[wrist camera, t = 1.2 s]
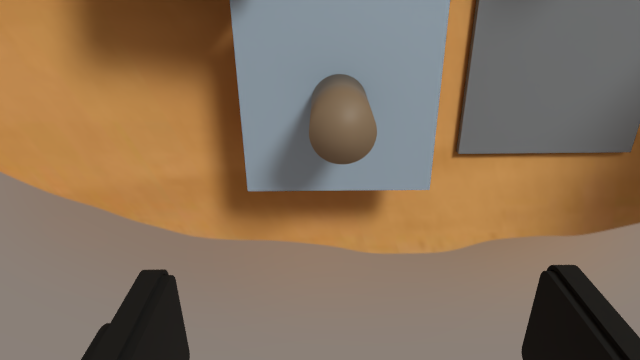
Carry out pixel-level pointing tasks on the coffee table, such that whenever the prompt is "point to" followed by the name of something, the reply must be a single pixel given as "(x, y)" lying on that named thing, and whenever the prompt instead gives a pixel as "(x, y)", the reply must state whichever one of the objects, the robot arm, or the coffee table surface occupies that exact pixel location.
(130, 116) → the coffee table surface
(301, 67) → the lid
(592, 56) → the mat
